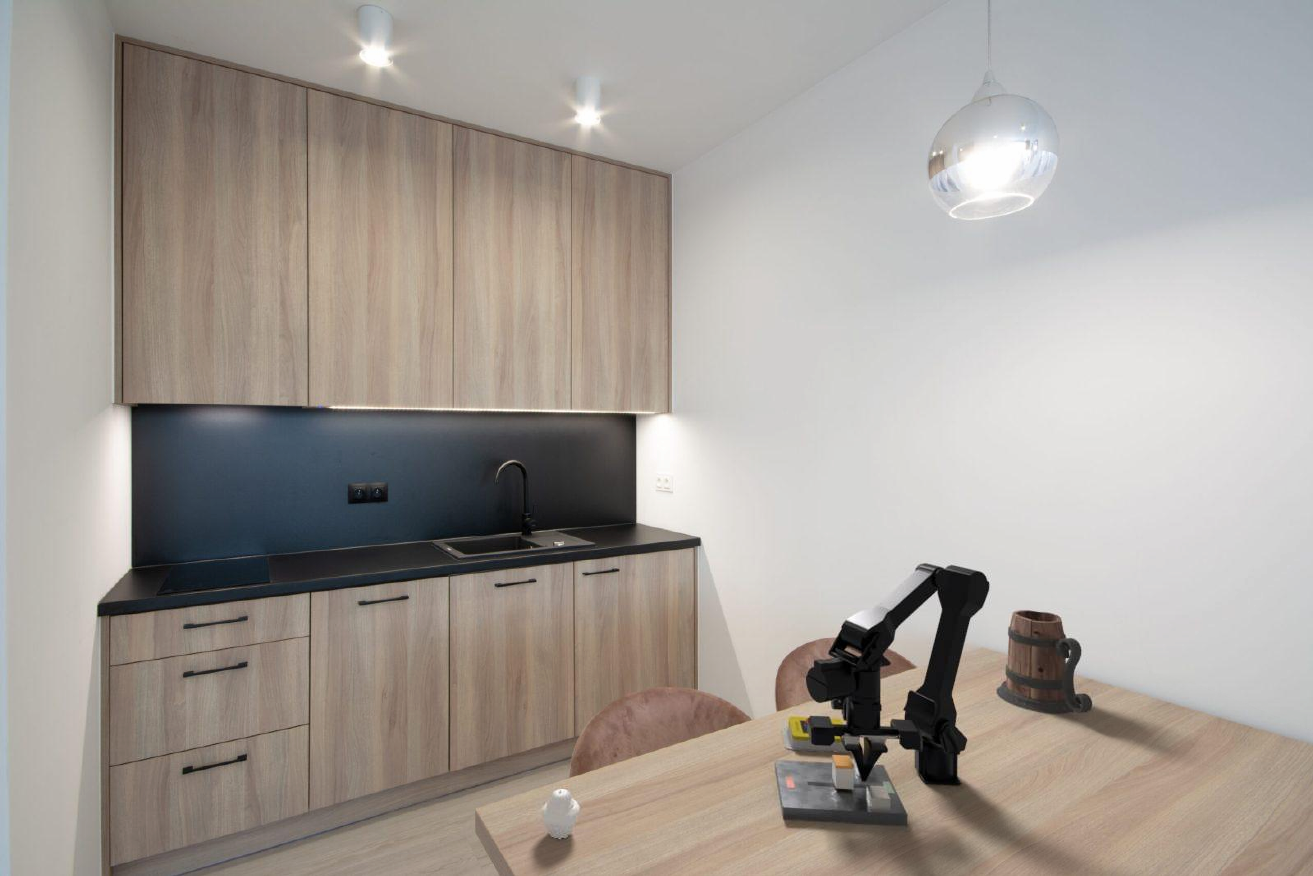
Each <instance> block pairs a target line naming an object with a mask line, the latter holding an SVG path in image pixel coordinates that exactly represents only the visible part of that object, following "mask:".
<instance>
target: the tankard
mask: <svg viewBox="0 0 1313 876" xmlns="http://www.w3.org/2000/svg"><path fill="white" fill-rule="evenodd" d="M1062 621H1063V620H1062V618H1061V616H1059V615H1058V614H1055V613H1052V612H1048V611H1047V612H1046V611H1037V610H1036V611H1035V610H1032V609H1031V610H1030V609H1029V610H1028V609H1024V610H1015V611H1014V612H1012V615H1011V619H1010V624H1009V626H1008V627H1007V635H1008V647H1007V648H1008V649H1007V664H1006V665H1005V675H1006V680H1005V681H1003V682H1002V683H1001V685H1000V686H998V687H997V688H996V691H997V692H996V691H995V693H996V695H997V696H998V697H999V698H1001V700H1003V701H1004V702H1006V703H1008V704H1010V705H1012V706H1015V707H1017V708H1020V709H1023V710H1029V711H1032V712H1036V713H1041V714H1050V715H1052V714H1053V715H1065V714H1066V715H1067V714H1071V713H1074V712H1075V713H1078V714H1081V713H1088V712H1090V711H1091V710H1092V708H1093V700H1092V698H1091V697H1090V695H1088V694H1087V693H1076V691H1075V690H1076V689H1075V684H1074V682H1075V681H1074V678H1075V677H1074V674H1075V670H1076V667H1077V665H1078V664H1079V662H1080V660H1081V657H1082V647H1081V643H1079V641H1078V640H1077V639H1076V638H1073V637H1067V635H1066V633H1065V630H1064V627H1063V626H1064V625H1063V622H1062Z"/></svg>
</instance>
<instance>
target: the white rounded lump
mask: <svg viewBox="0 0 1313 876" xmlns="http://www.w3.org/2000/svg"><path fill="white" fill-rule="evenodd" d="M548 798H549V799H548V801H547V802H546V803H545V804H544V805H543V806H542V809H541V813H540V815H541V820H542V823H543V825H544V827H545V829H546V830H547V832H548V833H549V835H550V836H551V838H552V837H554V838H553V839H555V838H558V839H559V838H564V839H566V838H568V837H569V836H570V835H571V833H572V832H573V829H574V828H575V826H576V824H577V821H578V820H579V819H578V818H579V815H580V811H581V807H580V804H579V803H578V802H577V800H575V799H574V798H573V797H572V794H571V792H570V790H567V789H564V788H561V789H560V788H558V789H555V790H553V791H552V793H551V794H550V795H549V797H548ZM568 835H569V836H568ZM558 839H557V840H558ZM559 840H560V839H559Z"/></svg>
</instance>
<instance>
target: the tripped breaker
mask: <svg viewBox="0 0 1313 876" xmlns="http://www.w3.org/2000/svg"><path fill="white" fill-rule="evenodd" d="M831 761H832V762H831V763H832V778H833V781H834V784H835V787H836V788H838V789H854V766H853V764H854V763H853V761H852V759H851V756H850V755H843V754H842V755H839V754H832V755H831Z"/></svg>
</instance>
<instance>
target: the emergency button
mask: <svg viewBox="0 0 1313 876" xmlns="http://www.w3.org/2000/svg"><path fill="white" fill-rule="evenodd" d="M809 717H810V716H809ZM809 717H808V716H788V723H787V727H786V726H785V727H782V728H781V736H782V741H783V745H784V748H785V749H786V750H788V751H807V752H823V751H833V752H832V753H843V752H851V751H846V750H845V749H844V746H843V744H842V741H841V739H840V736H835V742H834V743H833V744H832V745H831V746H822V745H813V744H811V741H810V738H809V735H808V731H807V719H808V718H809ZM830 719H831V722H832V724H843V725H844V722H843V720H842V719H840V718H831V717H830ZM835 751H836V752H835Z"/></svg>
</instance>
